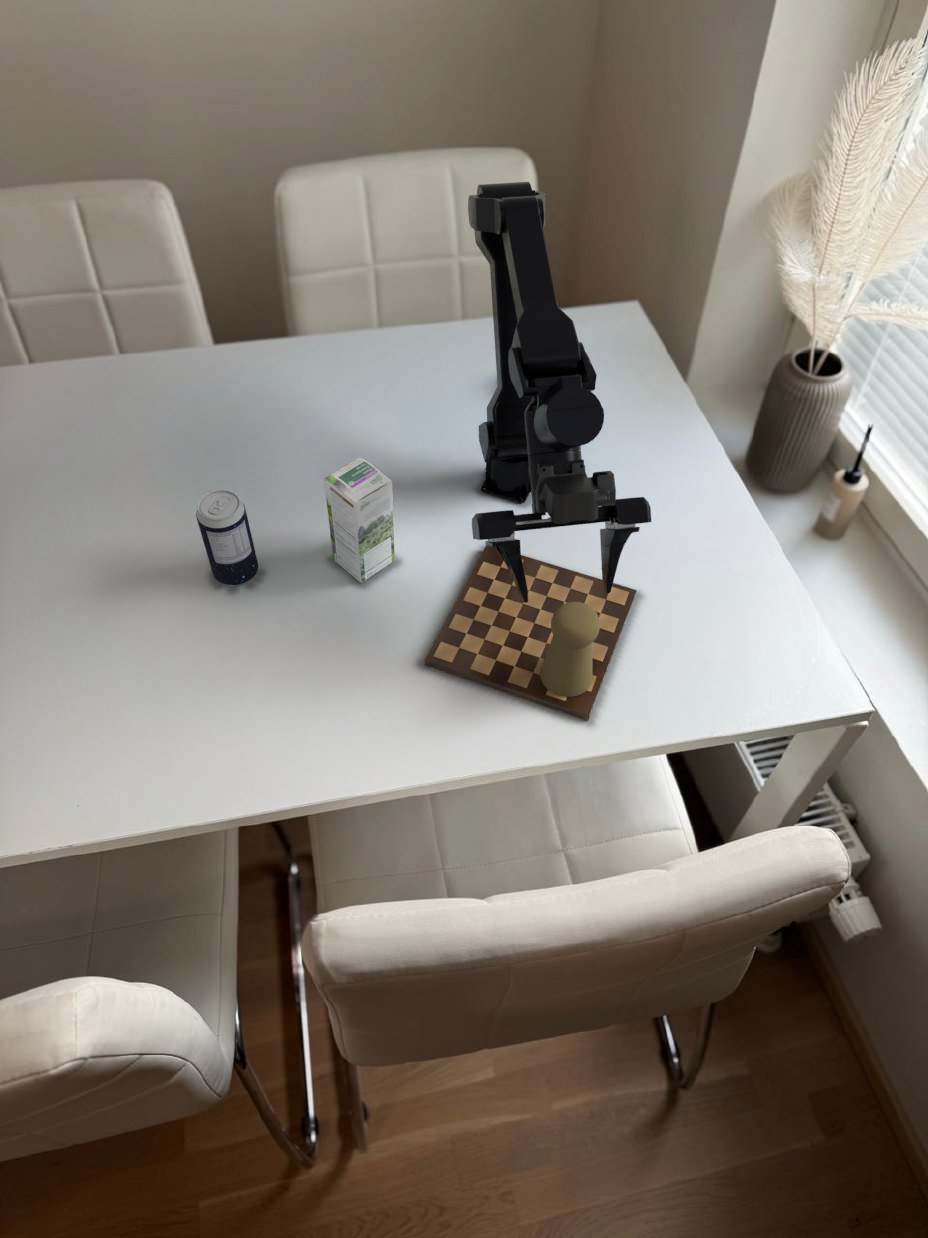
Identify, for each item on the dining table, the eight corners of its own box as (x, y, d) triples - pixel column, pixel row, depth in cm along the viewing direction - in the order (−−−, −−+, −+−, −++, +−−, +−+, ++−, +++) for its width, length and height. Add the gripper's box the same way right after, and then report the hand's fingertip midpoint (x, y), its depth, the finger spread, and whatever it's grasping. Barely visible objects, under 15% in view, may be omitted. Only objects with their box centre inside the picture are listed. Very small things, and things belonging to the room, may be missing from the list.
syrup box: (366, 538, 120) (359, 453, 109) (397, 562, 118) (392, 478, 106) (332, 560, 118) (321, 475, 106) (363, 586, 115) (354, 502, 104)
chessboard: (424, 665, 108) (424, 659, 107) (486, 549, 119) (486, 543, 118) (588, 721, 103) (589, 715, 102) (635, 595, 115) (637, 589, 114)
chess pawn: (578, 705, 103) (590, 646, 94) (530, 682, 105) (538, 621, 96) (601, 668, 106) (615, 607, 98) (554, 646, 108) (564, 584, 100)
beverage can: (267, 563, 117) (252, 494, 108) (246, 595, 114) (228, 526, 104) (227, 551, 118) (209, 482, 109) (205, 583, 115) (184, 514, 106)
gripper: (479, 456, 90) (494, 614, 92) (663, 439, 92) (674, 594, 94) (465, 463, 101) (478, 604, 103) (629, 447, 103) (640, 586, 105)
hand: (566, 597), depth 101 cm, fingers open, 9 cm apart
